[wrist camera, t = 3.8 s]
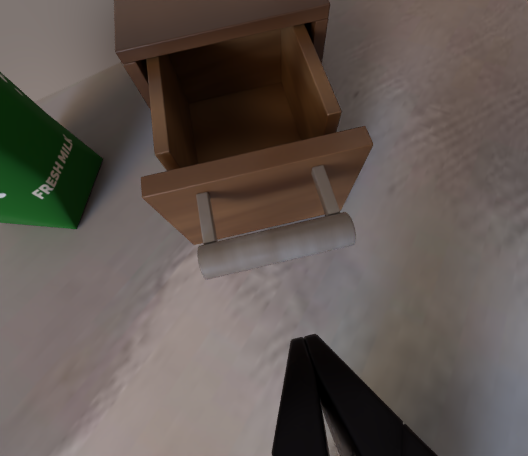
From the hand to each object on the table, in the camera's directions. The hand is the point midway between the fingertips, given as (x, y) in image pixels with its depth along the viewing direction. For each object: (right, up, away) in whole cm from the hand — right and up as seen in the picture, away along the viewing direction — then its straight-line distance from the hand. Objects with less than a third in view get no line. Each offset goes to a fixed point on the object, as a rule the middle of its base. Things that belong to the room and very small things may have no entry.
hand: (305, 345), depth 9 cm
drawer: (-2, +8, +13) cm, 15 cm away
